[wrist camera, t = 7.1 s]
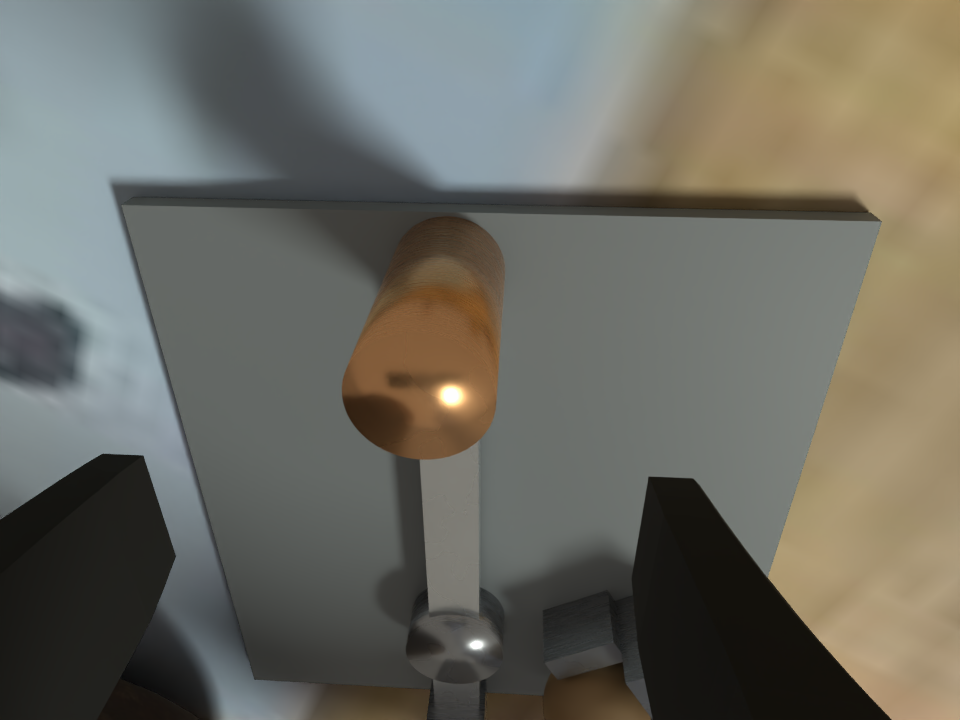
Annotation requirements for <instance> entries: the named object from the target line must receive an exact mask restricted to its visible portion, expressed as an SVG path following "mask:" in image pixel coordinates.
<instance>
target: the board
mask: <svg viewBox="0 0 960 720" xmlns="http://www.w3.org/2000/svg"><path fill="white" fill-rule="evenodd" d="M121 206H122V209H123V213H124V217H125V220H126V224H127V227H128V231H129V234H130V238H131V241H132V245H133V249H134V252H135V256H136V259H137V263H138V266H139V270H140V274H141V277H142V281H143V284H144V288H145V291H146V295H147V298H148V302H149V306H150V309H151V313H152V316H153V320H154V323H155V327H156V330H157V334H158V338H159V341H160V345H161V348H162V352H163V355H164V359H165V363H166V366H167V370H168V373H169V377H170V380H171V384H172V387H173V391H174V395H175V398H176V402H177V405H178V409H179V412H180V416H181V420H182V423H183V427H184V430H185V434H186V437H187V441H188V444H189V448H190V452H191V455H192V459H193V462H194V466H195V469H196V473H197V477H198V480H199V484H200V487H201V491H202V494H203V498H204V501H205V505H206V509H207V512H208V516H209V519H210V523H211V526H212V530H213V534H214V537H215V541H216V544H217V548H218V551H219V555H220V558H221V562H222V566H223V569H224V573H225V576H226V580H227V583H228V587H229V591H230V594H231V598H232V601H233V605H234V608H235V612H236V615H237V619H238V623H239V626H240V630H241V633H242V637H243V640H244V644H245V647H246V651H247V655H248V658H249V662H250V665H251V669H252V672H253V676H254V679H255V680H273V681H290V682H308V683H326V684H344V685H361V686H379V687H397V688H415V689H431V682H432V679H431V678H429V677H427V676H425V675H423V674H421V673H420V672H418V671H417V670H416V669H415V668H414V667H413V666H412V665H411V664H410V662H409V660H408V658H407V655H406V644H407V638H408V632H409V627H410V621H411V615H412V609H413V604H414V602H415V600H416V598H417V597H418V595H419V594H420V593H422V592H423V591H424V590H426V589H428V587H427V571H426V554H425V538H424V522H423V505H422V489H421V473H420V459H411V458H406V457H402V456H398V455H395V454H392V453H390V452H387V451H385V450H383V449H381V448H379V447H377V446H376V445H374V444H373V443H371V442H370V441H369V440H368V439H366V438H365V437H364V436H363V435H362V434H361V433H360V432H359V431H358V430H357V429H356V428H355V426H354V425H353V423H352V422H351V420H350V419H349V417H348V415H347V413H346V410H345V407H344V404H343V399H342V380H343V377H344V373H345V370H346V368H347V366H348V363H349V361H350V358H351V356H352V354H353V351H354V349H355V346H356V344H357V342H358V339H359V337H360V334H361V332H362V330H363V327H364V325H365V322H366V320H367V318H368V315H369V313H370V310H371V308H372V306H373V303H374V301H375V298H376V296H377V294H378V291H379V289H380V286H381V284H382V282H383V279H384V277H385V274H386V272H387V269H388V267H389V265H390V262H391V260H392V257H393V255H394V253H395V250H396V248H397V246H398V244H399V242H400V240H401V239H402V237H403V236H404V235H405V234H406V233H407V231H409V230H410V229H411V228H412V227H414V226H415V225H417V224H418V223H420V222H422V221H424V220H427V219H430V218H435V217H442V216H451V217H458V218H463V219H466V220H469V221H471V222H473V223H475V224H477V225H479V226H480V227H482V228H483V229H484V230H486V231H487V232H488V233H489V234H490V235H491V236H492V237H493V238H494V240H495V241H496V243H497V244H498V246H499V248H500V250H501V252H502V255H503V258H504V262H505V283H504V298H503V312H502V327H501V342H500V356H499V371H498V386H497V400H496V411H495V415H494V418H493V421H492V423H491V425H490V427H489V429H488V430H487V432H486V433H485V434H484V435H483V437H482V438H481V439H480V587H481V588H483V589H485V590H487V591H488V592H490V593H491V594H493V595H494V596H495V597H496V598H497V599H498V600H499V602H500V603H501V605H502V607H503V609H504V643H503V661H502V664H501V666H500V668H499V669H498V670H497V671H496V672H495V673H494V674H493V675H491V676H490V677H488V678H487V693H503V694H521V695H539V696H543V695H544V690H545V686H546V683H547V680H548V678H549V676H550V674H551V671H550V670H549V669H548V667H547V666H546V665H545V664H544V645H543V610H546V609H549V608H552V607H555V606H559V605H562V604H565V603H568V602H571V601H574V600H577V599H580V598H583V597H587V596H590V595H593V594H596V593H599V592H602V591H605V590H608V592H609V593H610V594H611V596H612V597H613V599H614V600H615V601H616V600H619V599H622V598H625V597H628V596H632V595H633V590H632V579H631V578H632V572H633V566H634V560H635V554H636V549H637V543H638V537H639V531H640V525H641V519H642V513H643V507H644V501H645V495H646V489H647V483H648V477H649V476H650V477H674V478H693V479H694V480H695V481H696V482H697V483H698V484H699V485H700V486H701V488H702V489H703V491H704V492H705V493H706V495H707V496H708V498H709V499H710V501H711V502H712V503H713V505H714V506H715V508H716V509H717V511H718V512H719V513H720V515H721V516H722V518H723V519H724V520H725V522H726V523H727V525H728V526H729V527H730V529H731V530H732V531H733V533H734V534H735V536H736V537H737V538H738V540H739V541H740V542H741V544H742V545H743V546H744V548H745V549H746V550H747V552H748V553H749V554H750V556H751V557H752V558H753V560H754V561H755V562H756V564H757V565H758V566H759V567H760V569H761V570H762V571H763V573H764V574H765V575H766V576H767V578H768V575H769V572H770V568H771V565H772V562H773V559H774V556H775V553H776V550H777V547H778V544H779V540H780V537H781V534H782V531H783V528H784V525H785V522H786V519H787V516H788V512H789V509H790V506H791V503H792V500H793V497H794V494H795V491H796V487H797V484H798V481H799V478H800V475H801V472H802V469H803V466H804V463H805V459H806V456H807V453H808V450H809V447H810V444H811V441H812V438H813V435H814V431H815V428H816V425H817V422H818V419H819V416H820V413H821V410H822V406H823V403H824V400H825V397H826V394H827V391H828V388H829V385H830V382H831V378H832V375H833V372H834V369H835V366H836V363H837V360H838V357H839V354H840V350H841V347H842V344H843V341H844V338H845V335H846V332H847V329H848V325H849V322H850V319H851V316H852V313H853V310H854V307H855V304H856V301H857V297H858V294H859V291H860V288H861V285H862V282H863V279H864V276H865V273H866V269H867V266H868V263H869V260H870V257H871V254H872V251H873V248H874V244H875V241H876V238H877V235H878V232H879V229H880V226H881V223H882V221H880V220H879V219H878V218H877V217H876V216H874V215H873V214H872V213H866V212H818V211H771V210H723V209H676V208H628V207H581V206H533V205H486V204H438V203H391V202H343V201H296V200H248V199H201V198H153V197H133V198H131V199H130V200H128V201H127V202H125V203H124V204H122V205H121Z"/></svg>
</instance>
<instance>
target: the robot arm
mask: <svg viewBox="0 0 960 720" xmlns="http://www.w3.org/2000/svg"><path fill="white" fill-rule="evenodd" d="M175 557H176V555H175V552H174V549H173V546H172V543H171V540H170V537H169V534H168V531H167V527H166V524H165V521H164V518H163V515H162V512H161V509H160V506H159V503H158V500H157V497H156V494H155V490H154V487H153V484H152V481H151V478H150V475H149V472H148V469H147V466H146V463H145V460H144V456H141V455H117V454H101V455H100V456H98V457H96V458H95V459H93V460H91V461H89V462H88V463H86V464H84V465H83V466H81V467H80V468H78V469H76V470H75V471H73V472H72V473H70V474H69V475H67V476H66V477H64V478H62V479H61V480H59V481H58V482H56V483H55V484H53V485H52V486H50V487H49V488H47V489H46V490H44V491H43V492H41V493H40V494H38V495H37V496H35V497H34V498H32V499H31V500H29V501H28V502H26V503H25V504H23V505H22V506H20V507H19V508H17V509H16V510H14V511H13V512H11V513H10V514H8V515H7V516H5V517H4V518H2V519H1V520H0V720H97V719H98V717H99V715H100V713H101V711H102V710H103V708H104V706H105V704H106V702H107V701H108V699H109V697H110V695H111V693H112V692H113V690H114V688H115V686H116V684H117V683H118V681H119V679H120V677H121V675H122V673H123V672H124V670H125V668H126V666H127V664H128V662H129V661H130V659H131V657H132V655H133V653H134V651H135V650H136V648H137V646H138V644H139V642H140V640H141V638H142V637H143V635H144V633H145V631H146V629H147V627H148V625H149V623H150V621H151V619H152V616H153V614H154V611H155V609H156V607H157V604H158V602H159V599H160V597H161V594H162V592H163V589H164V587H165V584H166V581H167V579H168V576H169V573H170V570H171V568H172V565H173V562H174V560H175ZM631 579H632V590H633V601H634V612H635V623H636V632H637V642H638V650H639V655H640V660H641V665H642V670H643V675H644V680H645V685H646V689H647V694H648V699H649V704H650V709H651V714H652V718H653V720H891V719H890V717H889V716H888V715H887V714H886V713H885V712H884V711H883V710H882V709H881V708H880V707H879V706H878V705H877V704H876V703H875V702H874V701H873V700H872V699H871V698H870V697H869V695H868V694H867V693H866V692H865V691H864V690H863V689H862V688H861V687H860V686H859V685H858V684H857V683H856V681H855V680H854V679H853V678H852V677H851V676H850V675H849V674H848V673H847V672H846V670H845V669H844V668H843V667H842V666H841V665H840V664H839V662H838V661H837V660H836V659H835V658H834V657H833V656H832V655H831V653H830V652H829V651H828V650H827V649H826V648H825V647H824V646H823V644H822V643H821V642H820V641H819V640H818V639H817V638H816V636H815V635H814V634H813V633H812V632H811V630H810V629H809V628H808V627H807V626H806V625H805V623H804V622H803V621H802V620H801V619H800V617H799V616H798V615H797V614H796V613H795V611H794V610H793V609H792V608H791V606H790V605H789V604H788V603H787V601H786V600H785V599H784V598H783V596H782V595H781V594H780V593H779V591H778V590H777V589H776V588H775V586H774V585H773V584H772V583H771V581H770V580H769V579H768V578H767V576H766V575H765V574H764V573H763V571H762V570H761V569H760V567H759V566H758V565H757V564H756V562H755V561H754V560H753V558H752V557H751V556H750V554H749V553H748V552H747V550H746V549H745V548H744V546H743V545H742V544H741V542H740V541H739V540H738V538H737V537H736V536H735V534H734V533H733V531H732V530H731V529H730V527H729V526H728V525H727V523H726V522H725V520H724V519H723V518H722V516H721V515H720V513H719V512H718V511H717V509H716V508H715V506H714V505H713V503H712V502H711V501H710V499H709V498H708V496H707V495H706V493H705V492H704V491H703V489H702V488H701V486H700V485H699V484H698V483H697V482H696V481H695V480H694V479H693V478H674V477H650V476H649V477H648V483H647V489H646V495H645V501H644V507H643V513H642V519H641V525H640V531H639V537H638V543H637V549H636V554H635V560H634V566H633V572H632V578H631Z"/></svg>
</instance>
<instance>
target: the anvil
mask: <svg viewBox="0 0 960 720" xmlns="http://www.w3.org/2000/svg"><path fill="white" fill-rule="evenodd" d="M543 645H544V664H545V665H546V666H547V667H548V669H549V670H550V671H551V672H552V673H553V675H554V676H555V677H556V678H557V680H561V679H564V678H568V677H571V676H575V675H578V674H582V673H585V672H589V671H592V670H596V669H600V668H603V667H607V666H610V665H614V664H617V663H621V662H623V668H624V676H625V683H626V685H627V686H628V687H629V689H630V690H631V691H632V693H633V694H634V695H635V697H636V698H637V699H638V701H639V702H640V703H641V705H642V706H643V708H644V709H645V710H646V712H647V713H648V714H649V716H650V717H651V720H653V718H652V714H651V709H650V704H649V699H648V694H647V689H646V685H645V680H644V675H643V670H642V665H641V660H640V655H639V650H638V642H637V632H636V623H635V612H634V601H633V595H632V596H628V597H625V598H622V599H619V600H616V601H615V600H614V599H613V597H612V596H611V594H610V593H609V592H608V590H605V591H602V592H599V593H596V594H593V595H590V596H587V597H583V598H580V599H577V600H574V601H571V602H568V603H565V604H562V605H559V606H555V607H552V608H549V609H546V610H543Z"/></svg>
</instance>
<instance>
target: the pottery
mask: <svg viewBox="0 0 960 720" xmlns="http://www.w3.org/2000/svg"><path fill="white" fill-rule="evenodd" d="M97 720H199V719H198V718H197V717H196V716H195V715H193V714H192V713H190V712H188V711H187V710H185V709H183V708H181V707H180V706H178V705H176V704H175V703H173V702H171V701H169V700H167V699H166V698H164V697H162V696H160V695H158V694H156V693H155V692H153V691H150V690H148V689H145V688H143V687H140V686H137V685H135V684H132V683H130V682H127V681H125V680H122V679H119V681H118V683H117V684H116V686H115V688H114V690H113V692H112V693H111V695H110V697H109V699H108V701H107V702H106V704H105V706H104V708H103V710H102V711H101V713H100V715H99V717H98V719H97Z"/></svg>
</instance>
